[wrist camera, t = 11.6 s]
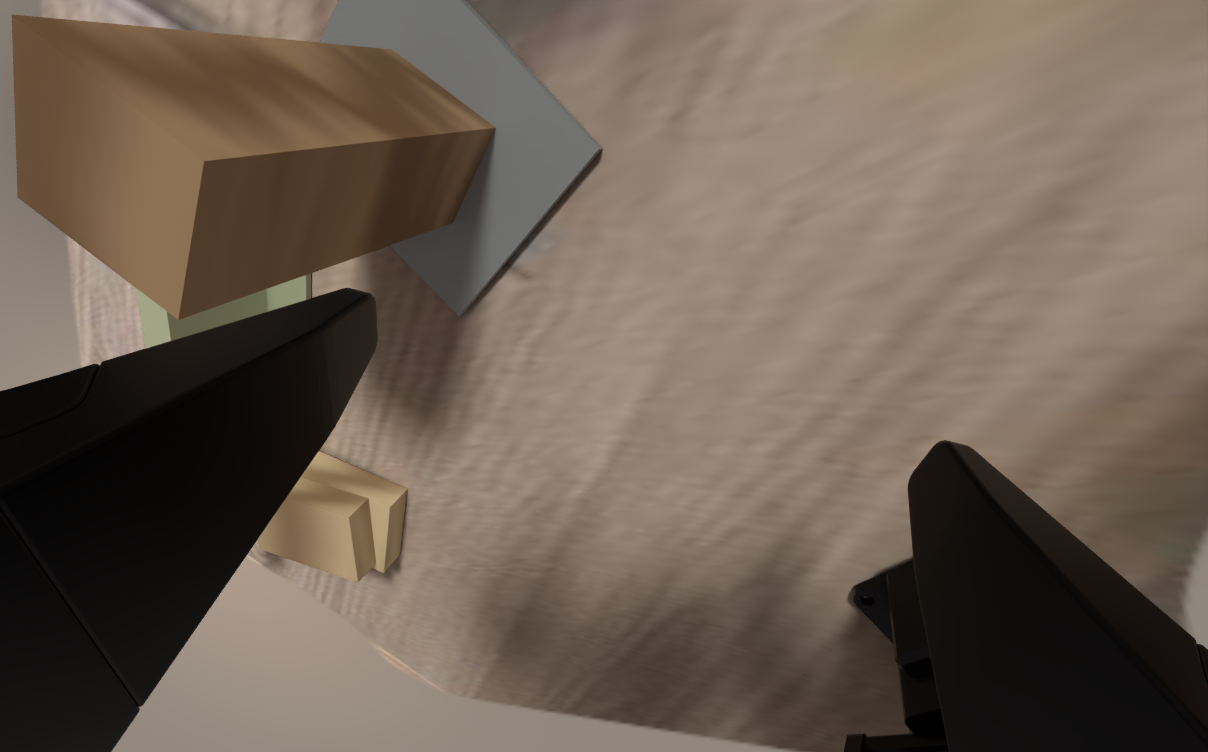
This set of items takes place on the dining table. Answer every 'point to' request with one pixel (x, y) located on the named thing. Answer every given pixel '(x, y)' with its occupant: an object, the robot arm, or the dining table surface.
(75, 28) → the brown wooden block
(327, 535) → the offcut upper
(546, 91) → the felt pad
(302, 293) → the green flanged rail
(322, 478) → the offcut lower
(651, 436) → the dining table surface
